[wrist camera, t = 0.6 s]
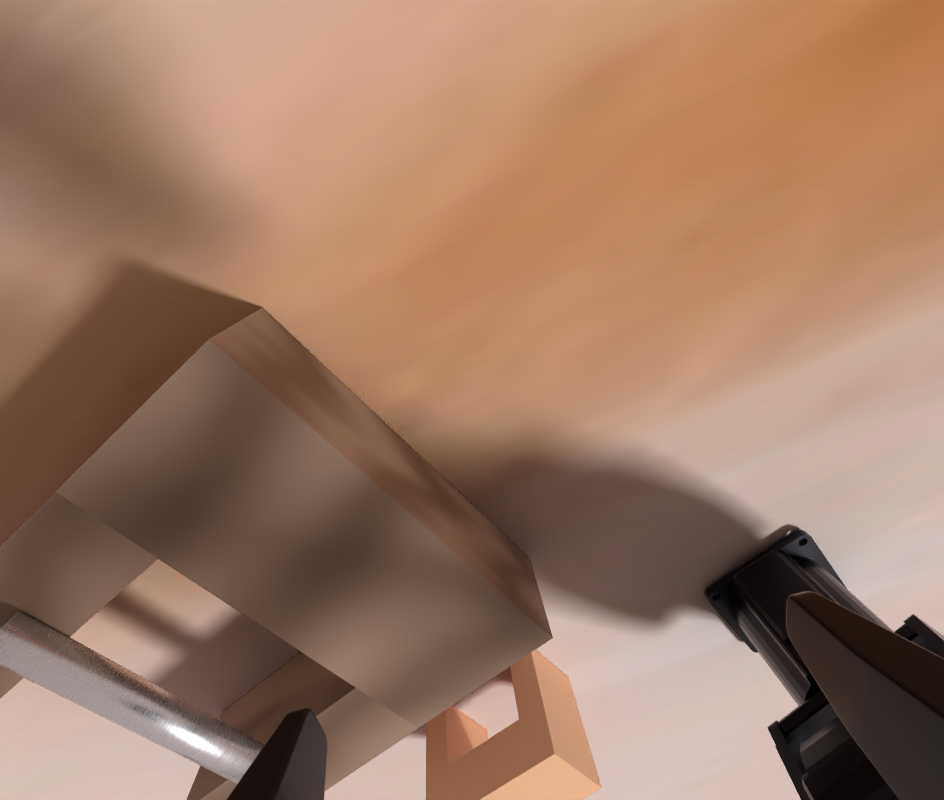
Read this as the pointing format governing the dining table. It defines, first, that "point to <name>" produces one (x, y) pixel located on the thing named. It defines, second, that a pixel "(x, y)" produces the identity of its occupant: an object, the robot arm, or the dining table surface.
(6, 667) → the metal rod
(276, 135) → the dining table surface
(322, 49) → the dining table surface
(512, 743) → the wooden building block
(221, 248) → the dining table surface
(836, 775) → the robot arm
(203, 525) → the u-shaped stone cradle
